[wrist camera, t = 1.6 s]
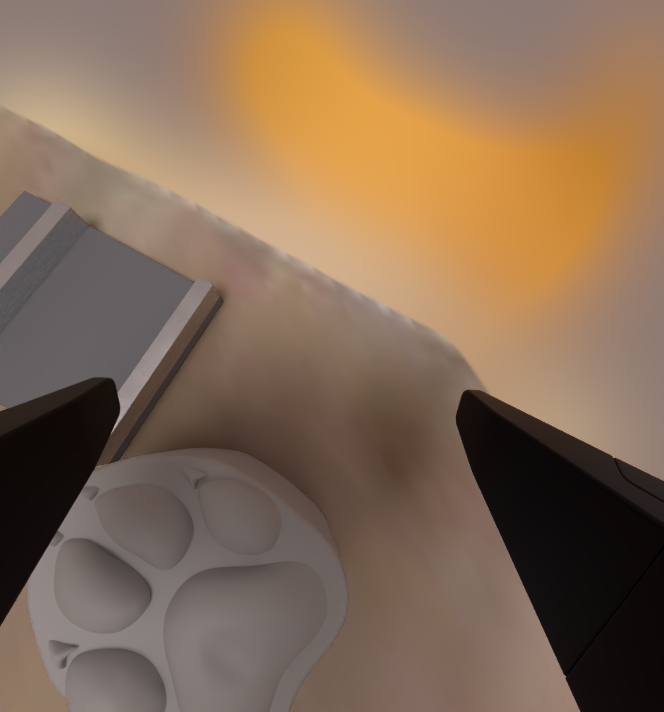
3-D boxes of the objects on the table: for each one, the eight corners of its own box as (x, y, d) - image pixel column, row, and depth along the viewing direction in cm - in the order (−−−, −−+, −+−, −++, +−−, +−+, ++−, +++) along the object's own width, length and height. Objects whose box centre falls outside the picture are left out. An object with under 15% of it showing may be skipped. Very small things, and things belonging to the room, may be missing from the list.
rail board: (116, 462, 21) (88, 467, 19) (-95, 345, 22) (-155, 331, 19) (222, 302, 24) (212, 284, 21) (35, 200, 25) (0, 168, 22)
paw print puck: (250, 694, 20) (216, 887, 11) (67, 556, 20) (-95, 643, 12) (352, 526, 22) (386, 582, 14) (186, 406, 23) (122, 391, 14)
